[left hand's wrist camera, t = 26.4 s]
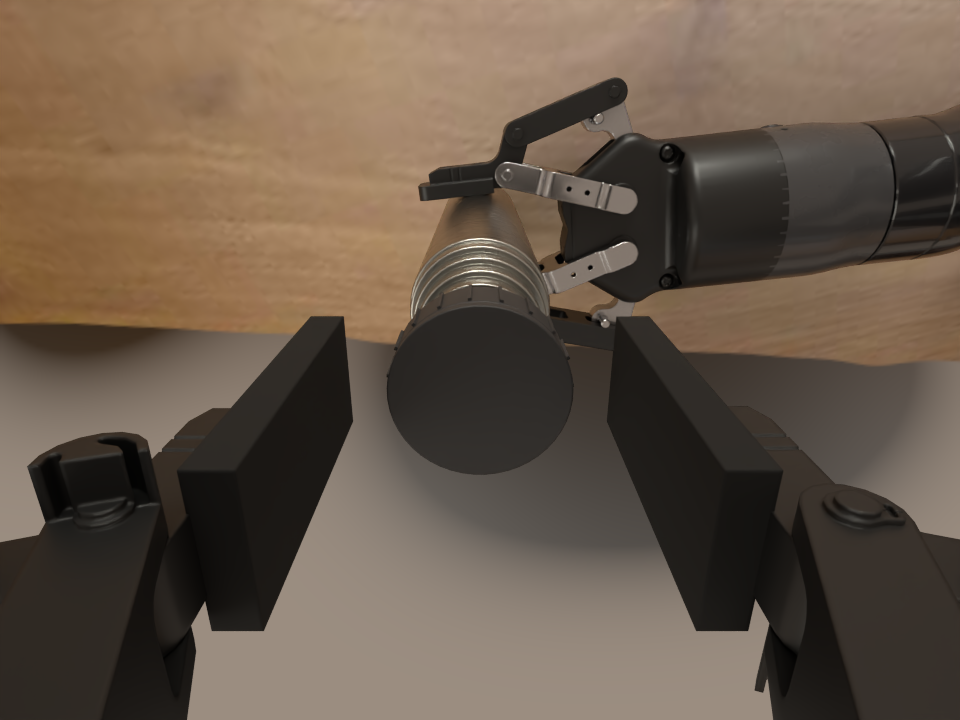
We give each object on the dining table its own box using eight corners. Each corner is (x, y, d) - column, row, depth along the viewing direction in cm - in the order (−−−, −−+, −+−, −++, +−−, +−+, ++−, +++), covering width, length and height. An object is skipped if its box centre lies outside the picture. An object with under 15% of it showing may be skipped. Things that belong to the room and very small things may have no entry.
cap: (415, 454, 15) (408, 490, 14) (374, 301, 14) (362, 323, 12) (575, 428, 15) (586, 461, 13) (551, 267, 13) (561, 285, 12)
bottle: (429, 210, 36) (342, 360, 13) (488, 166, 35) (503, 244, 12) (472, 268, 38) (460, 494, 15) (530, 227, 37) (613, 399, 14)
